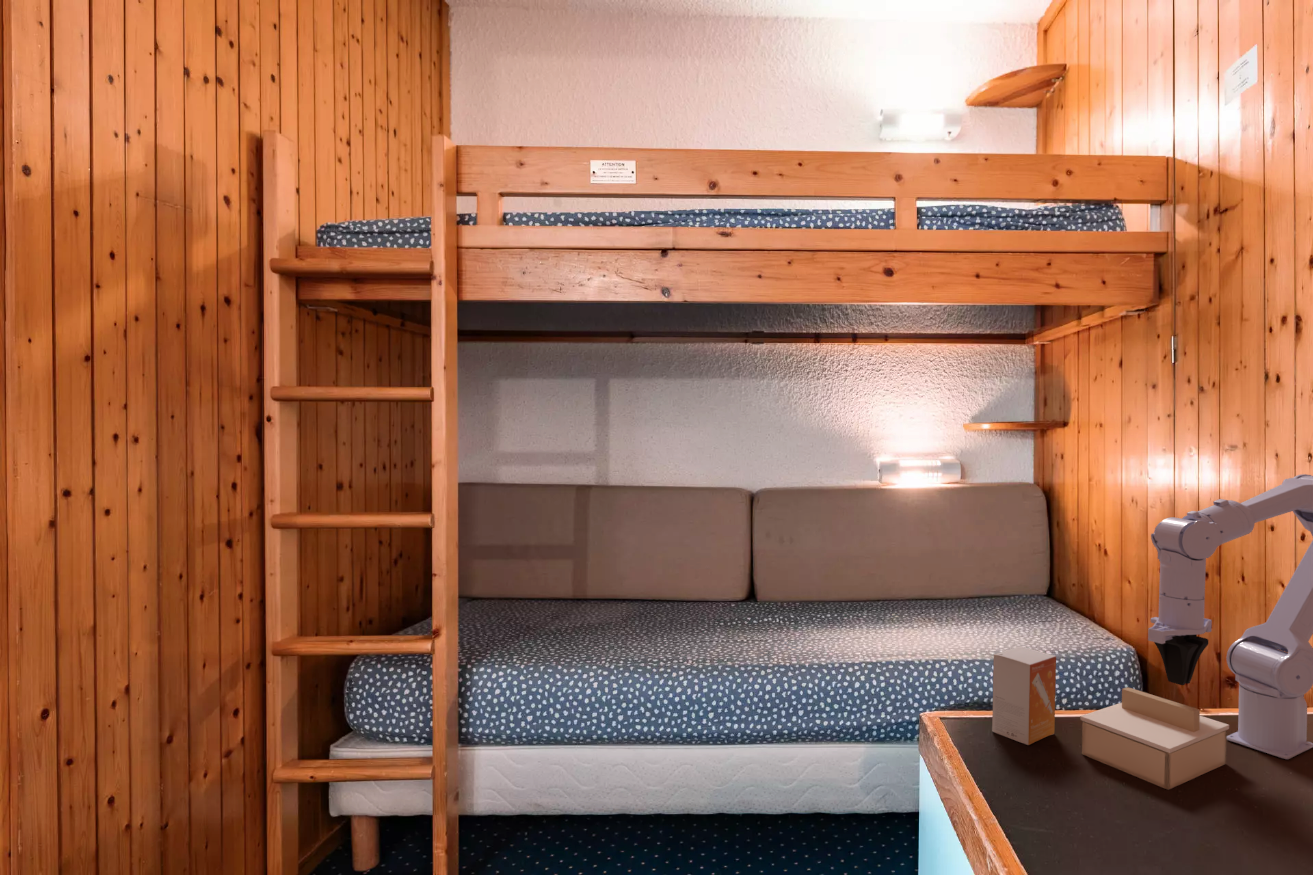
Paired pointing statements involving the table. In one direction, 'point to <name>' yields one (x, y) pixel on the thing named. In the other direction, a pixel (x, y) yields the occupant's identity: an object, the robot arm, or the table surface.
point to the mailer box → (1154, 756)
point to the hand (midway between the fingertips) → (1178, 682)
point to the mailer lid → (1155, 721)
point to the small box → (1024, 694)
